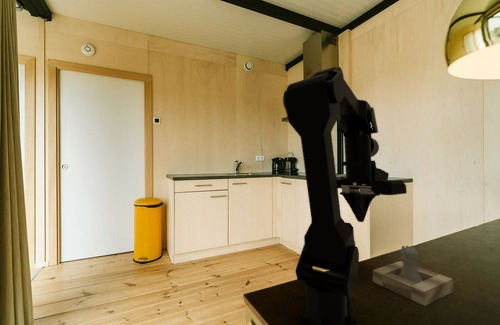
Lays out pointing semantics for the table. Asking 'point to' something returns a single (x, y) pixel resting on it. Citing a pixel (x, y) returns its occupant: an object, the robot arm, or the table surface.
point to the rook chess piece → (410, 264)
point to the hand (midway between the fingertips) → (360, 221)
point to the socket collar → (420, 292)
